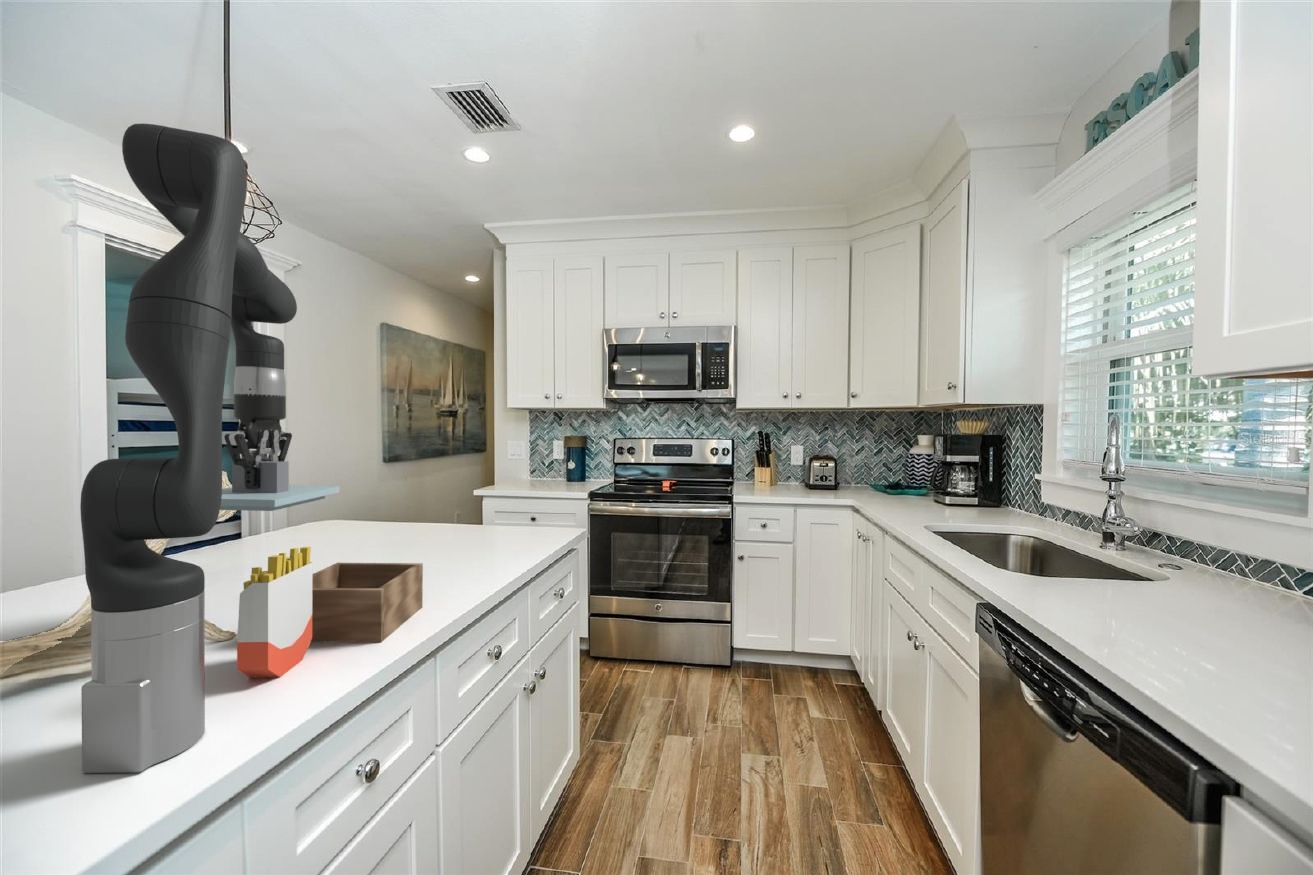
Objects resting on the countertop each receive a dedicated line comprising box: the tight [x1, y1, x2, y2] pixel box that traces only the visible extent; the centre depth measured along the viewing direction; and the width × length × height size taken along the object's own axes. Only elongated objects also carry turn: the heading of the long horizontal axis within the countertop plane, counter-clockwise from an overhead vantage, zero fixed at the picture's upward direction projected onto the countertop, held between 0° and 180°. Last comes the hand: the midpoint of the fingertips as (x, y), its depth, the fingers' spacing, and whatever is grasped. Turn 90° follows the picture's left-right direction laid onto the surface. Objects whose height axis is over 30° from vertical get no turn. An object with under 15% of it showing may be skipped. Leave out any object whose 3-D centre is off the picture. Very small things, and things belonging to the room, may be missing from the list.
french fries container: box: [236, 546, 313, 679], centre depth 78 cm, size 5×11×18 cm, turn 5°
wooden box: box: [310, 562, 424, 643], centre depth 96 cm, size 17×17×9 cm
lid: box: [220, 461, 341, 512], centre depth 94 cm, size 18×18×8 cm
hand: (260, 487), depth 94 cm, fingers closed on lid, 3 cm apart
